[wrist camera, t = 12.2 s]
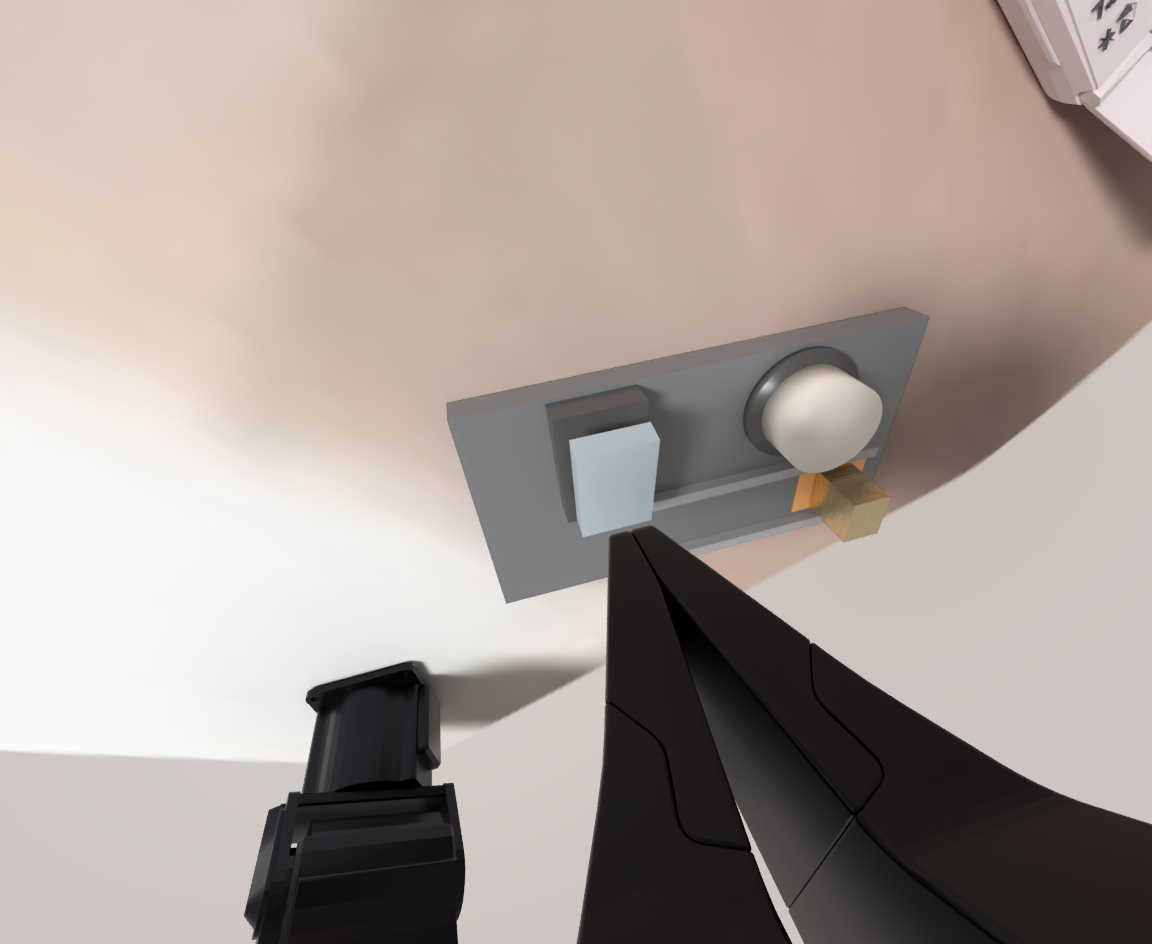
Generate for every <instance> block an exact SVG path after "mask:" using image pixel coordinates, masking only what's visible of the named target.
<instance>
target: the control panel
mask: <svg viewBox="0 0 1152 944" xmlns="http://www.w3.org/2000/svg"><path fill="white" fill-rule="evenodd" d="M928 320H929V317H927V316H925V315H923V314H920V313H918V312H915V311H913V310H910V309H908V308H906V307H902V308H897V309H892V310H887V311H883V312H878V313H873V314H868V315H863V316H859V317H854V318H849V319H844V320H840V321H835V322H830V323H825V324H821V325H816V326H811V327H806V328H802V329H797V330H792V331H787V332H783V333H778V334H773V335H768V336H764V337H759V338H754V339H749V340H745V341H740V342H735V343H730V344H726V345H721V346H716V347H711V348H707V349H702V350H697V351H692V352H688V353H683V354H678V355H673V356H669V357H664V358H659V359H654V360H649V361H645V362H640V363H635V364H630V365H626V366H621V367H616V368H611V369H607V370H602V371H597V372H592V373H588V374H583V375H578V376H573V377H569V378H564V379H559V380H554V381H550V382H545V383H540V384H535V385H531V386H526V387H521V388H516V389H512V390H507V391H502V392H497V393H493V394H488V395H483V396H478V397H474V398H469V399H464V400H459V401H455V402H450V403H447V421H448V424H449V428H450V431H451V434H452V437H453V440H454V443H455V446H456V449H457V452H458V455H459V458H460V462H461V465H462V468H463V471H464V474H465V477H466V480H467V483H468V486H469V489H470V493H471V496H472V499H473V502H474V505H475V508H476V511H477V514H478V517H479V520H480V524H481V527H482V530H483V533H484V536H485V539H486V542H487V545H488V548H489V551H490V555H491V558H492V561H493V564H494V567H495V570H496V573H497V576H498V579H499V582H500V586H501V589H502V592H503V595H504V598H505V601H506V604H507V603H511V602H515V601H518V600H522V599H526V598H530V597H534V596H537V595H541V594H545V593H549V592H553V591H556V590H560V589H564V588H568V587H572V586H576V585H579V584H583V583H587V582H591V581H595V580H598V579H602V578H606V577H608V551H609V537H610V535H612V534H616V533H620V532H624V531H630V532H631V531H632V530H633V529H636V528H640V527H644V526H648V525H652V526H654V527H656V528H657V529H658V530H660V531H661V532H663V533H664V534H665V535H667V536H668V537H669V538H671V539H672V540H673V541H675V542H676V543H678V544H679V545H680V546H682V547H683V548H684V549H686V550H687V551H689V552H690V553H691V554H693V555H694V556H696V555H700V554H704V553H708V552H712V551H715V550H719V549H723V548H727V547H731V546H734V545H738V544H742V543H746V542H750V541H753V540H757V539H761V538H765V537H769V536H772V535H776V534H780V533H784V532H788V531H791V530H795V529H799V528H803V527H807V526H810V525H814V524H818V523H822V522H823V521H822V520H821V519H820V517H819V516H818V515H817V514H816V513H815V512H814V511H813V510H812V509H811V508H810V507H809V503H810V499H811V495H812V491H813V487H814V483H815V479H816V475H817V473H806V472H803V471H800V470H798V469H797V468H795V467H794V466H793V465H792V464H791V463H790V462H789V461H788V460H787V459H786V458H785V457H784V456H783V455H782V454H781V453H780V452H779V451H778V450H777V449H776V448H775V447H774V446H773V445H772V444H771V443H770V442H769V441H768V440H767V439H766V438H765V436H764V434H763V432H762V428H761V419H762V414H763V410H764V407H765V405H766V403H767V401H768V399H769V398H770V396H771V395H772V393H773V392H774V391H775V389H776V388H777V387H778V386H779V385H780V384H781V383H782V382H783V381H784V380H785V379H787V378H788V377H789V376H791V375H792V374H794V373H795V372H797V371H799V370H801V369H803V368H806V367H808V366H812V365H817V364H830V365H833V366H836V367H838V368H839V369H841V370H842V371H844V372H846V373H847V374H849V375H850V376H852V377H854V378H855V379H857V380H858V381H860V382H861V383H863V384H865V385H866V386H868V387H869V388H871V389H873V390H874V391H875V392H876V393H877V394H878V395H879V397H880V399H881V401H882V417H881V421H880V423H879V426H878V428H877V430H876V432H875V434H874V435H873V437H872V438H871V440H870V441H869V442H868V443H867V445H866V446H865V447H864V448H863V449H862V450H861V451H860V452H859V453H858V454H857V455H855V456H854V457H853V458H851V459H850V460H849V461H847V462H846V463H844V464H847V463H852V464H853V465H854V466H856V467H857V468H858V469H859V470H860V471H862V472H863V473H864V474H865V475H866V476H868V477H869V478H870V479H871V480H873V477H874V475H875V472H876V469H877V466H878V463H879V460H880V457H881V455H882V452H883V449H884V446H885V443H886V440H887V437H888V434H889V432H890V429H891V426H892V423H893V420H894V417H895V414H896V411H897V409H898V406H899V403H900V400H901V397H902V394H903V391H904V388H905V386H906V383H907V380H908V377H909V374H910V371H911V368H912V366H913V363H914V360H915V357H916V354H917V351H918V348H919V345H920V343H921V340H922V337H923V334H924V331H925V328H926V325H927V322H928ZM647 422H651V424H652V425H653V427H654V429H655V431H656V433H657V435H658V437H659V439H660V445H659V454H658V463H657V473H656V482H655V492H654V501H653V510H652V520H650V521H646V522H642V523H638V524H634V525H630V526H626V527H622V528H618V529H614V530H610V531H606V532H602V533H598V534H594V535H590V536H586V537H583V536H582V533H581V530H580V527H579V524H578V521H577V513H576V503H575V493H574V483H573V473H572V463H571V453H570V443H569V440H572V439H577V438H581V437H585V436H590V435H594V434H599V433H603V432H608V431H612V430H616V429H621V428H625V427H630V426H634V425H639V424H643V423H647ZM842 465H843V464H842Z"/></svg>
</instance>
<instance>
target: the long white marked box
mask: <svg viewBox="0 0 1152 944" xmlns="http://www.w3.org/2000/svg"><path fill="white" fill-rule="evenodd" d="M997 1H998V3H999V5H1000V7H1001V9H1002V10H1003V12H1004V14H1005V16H1006V18H1007V20H1008V22H1009V24H1010V26H1011V28H1012V30H1013V32H1014V34H1015V36H1016V37H1017V39H1018V41H1019V43H1020V45H1021V47H1022V49H1023V51H1024V53H1025V55H1026V57H1027V59H1028V61H1029V63H1030V64H1031V66H1032V68H1033V70H1034V72H1035V74H1036V76H1037V78H1038V80H1039V82H1040V84H1041V86H1042V88H1043V90H1044V91H1045V93H1046V94H1047V95H1048V96H1049V97H1050V98H1052V99H1054V100H1057V101H1059V102H1062V103H1068V104H1077V105H1082V104H1083V105H1084V106H1085V107H1086V108H1087V109H1088V110H1089V111H1090V112H1091V113H1093V114H1094V115H1095V116H1096V117H1097V118H1099V119H1100V120H1101V121H1102V122H1103V123H1105V124H1106V125H1107V126H1108V127H1109V128H1111V129H1112V130H1113V131H1114V132H1115V133H1117V134H1118V135H1119V136H1120V137H1121V138H1122V139H1124V140H1125V141H1126V142H1127V143H1128V144H1130V145H1131V146H1132V147H1133V148H1134V149H1136V150H1137V151H1138V152H1139V153H1140V154H1142V155H1143V156H1144V157H1145V158H1146V159H1148V160H1149V161H1150V162H1151V163H1152V0H997Z"/></svg>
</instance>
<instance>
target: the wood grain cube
mask: <svg viewBox="0 0 1152 944" xmlns="http://www.w3.org/2000/svg"><path fill="white" fill-rule="evenodd" d="M890 499H891V496H890V495H889V494H888V493H887V492H885V491H884V490H883V489H882V488H881V487H880V486H878V485H877V484H876V483H875V482H874V481H872V480H871V479H870V478H869V477H868V476H866V475H865V474H864V473H863V472H862V471H860V470H859V469H858V468H857V467H856V466H854V465H853V464H852V463H847V464H843V465H840V466H838V467H836V468H834V469H831V470H828V471H825V472H820V473H817V475H816V479H815V483H814V487H813V491H812V495H811V499H810V503H809V507H810V508H811V509H812V510H813V511H814V512H815V513H816V514H817V515H818V516H819V517H820V519H821V520H822V521H823V522H824V523H825V524H826V525H827V526H828V527H829V528H830V529H831V530H832V531H833V532H834V533H835V534H836V535H837V536H838V537H839V538H840V540H841V541H842V542H846V541H850V540H853V539H857V538H861V537H865V536H868V535H872V534H876V533H877V532H878V530H879V527H880V524H881V522H882V519H883V517H884V514H885V512H886V509H887V507H888V504H889V501H890Z"/></svg>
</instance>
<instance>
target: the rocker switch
mask: <svg viewBox="0 0 1152 944" xmlns="http://www.w3.org/2000/svg"><path fill="white" fill-rule="evenodd" d="M569 443H570V453H571V463H572V473H573V483H574V493H575V503H576V513H577V521H578V524H579V527H580V530H581V533H582V536H583V537H586V536H590V535H594V534H598V533H602V532H606V531H610V530H614V529H618V528H622V527H626V526H630V525H634V524H638V523H642V522H646V521H650V520H652V510H653V501H654V492H655V482H656V473H657V463H658V454H659V445H660V439H659V437H658V435H657V433H656V431H655V429H654V427H653V425H652V424H651V422H647V423H643V424H639V425H634V426H630V427H625V428H621V429H616V430H612V431H608V432H603V433H599V434H594V435H590V436H585V437H581V438H577V439H572V440H569Z"/></svg>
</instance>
